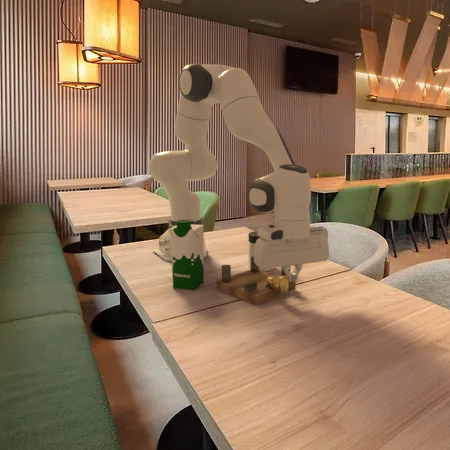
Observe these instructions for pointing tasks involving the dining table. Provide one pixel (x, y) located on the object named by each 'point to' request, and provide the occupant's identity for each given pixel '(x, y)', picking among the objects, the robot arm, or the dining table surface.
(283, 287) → the gold bone
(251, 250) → the jar
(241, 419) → the dining table surface
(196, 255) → the milk carton
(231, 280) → the stool seat
